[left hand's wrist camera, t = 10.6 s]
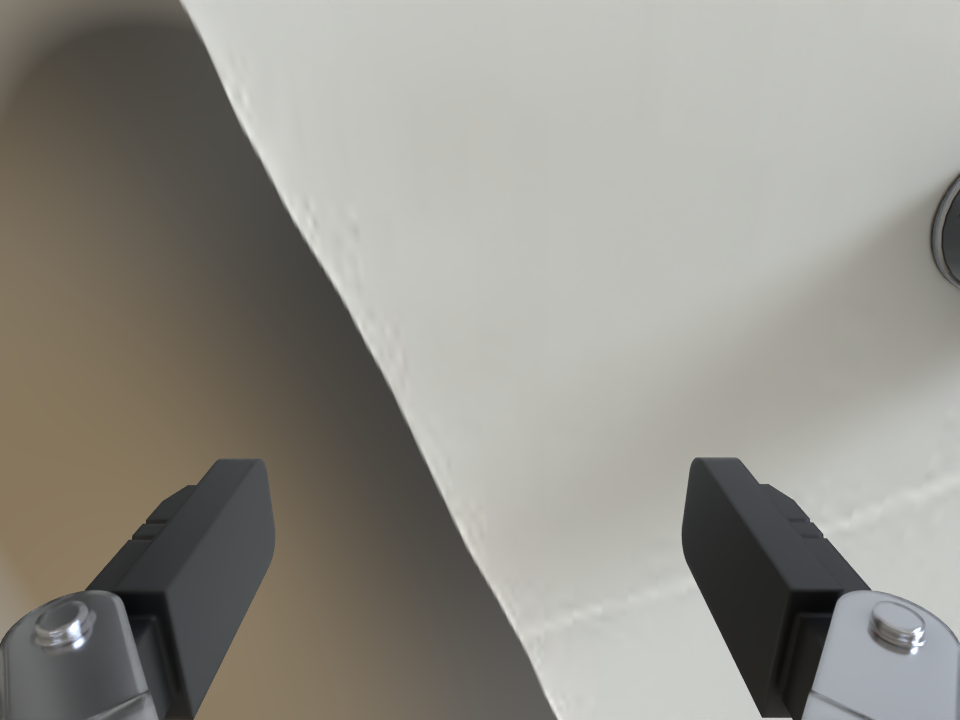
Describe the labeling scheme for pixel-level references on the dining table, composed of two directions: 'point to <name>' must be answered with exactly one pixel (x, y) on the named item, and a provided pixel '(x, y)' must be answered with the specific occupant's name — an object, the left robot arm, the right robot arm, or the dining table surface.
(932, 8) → the dining table surface
